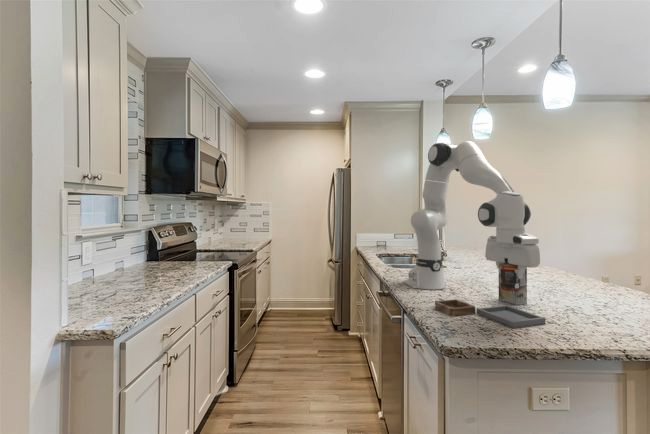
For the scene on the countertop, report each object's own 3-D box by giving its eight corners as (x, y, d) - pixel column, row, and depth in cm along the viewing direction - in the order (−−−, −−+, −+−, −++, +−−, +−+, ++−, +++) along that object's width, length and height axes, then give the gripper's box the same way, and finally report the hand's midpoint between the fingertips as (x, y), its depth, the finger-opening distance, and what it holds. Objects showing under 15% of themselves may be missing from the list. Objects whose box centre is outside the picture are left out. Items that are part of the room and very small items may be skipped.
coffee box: (527, 303, 136) (528, 264, 136) (515, 305, 134) (516, 265, 134) (509, 298, 145) (509, 261, 144) (497, 299, 143) (497, 262, 142)
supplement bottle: (523, 291, 114) (522, 259, 114) (504, 291, 115) (504, 258, 115) (516, 288, 120) (516, 256, 120) (498, 287, 121) (498, 256, 121)
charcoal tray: (476, 313, 123) (476, 308, 123) (506, 310, 127) (506, 305, 127) (512, 328, 108) (512, 322, 108) (545, 323, 112) (545, 318, 112)
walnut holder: (433, 307, 131) (433, 301, 131) (457, 305, 134) (457, 299, 134) (451, 316, 121) (451, 309, 121) (476, 313, 124) (476, 306, 124)
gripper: (481, 235, 126) (481, 272, 126) (528, 239, 107) (528, 282, 107) (494, 235, 128) (494, 270, 128) (543, 239, 108) (543, 281, 109)
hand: (510, 276), depth 117 cm, fingers closed on supplement bottle, 6 cm apart
